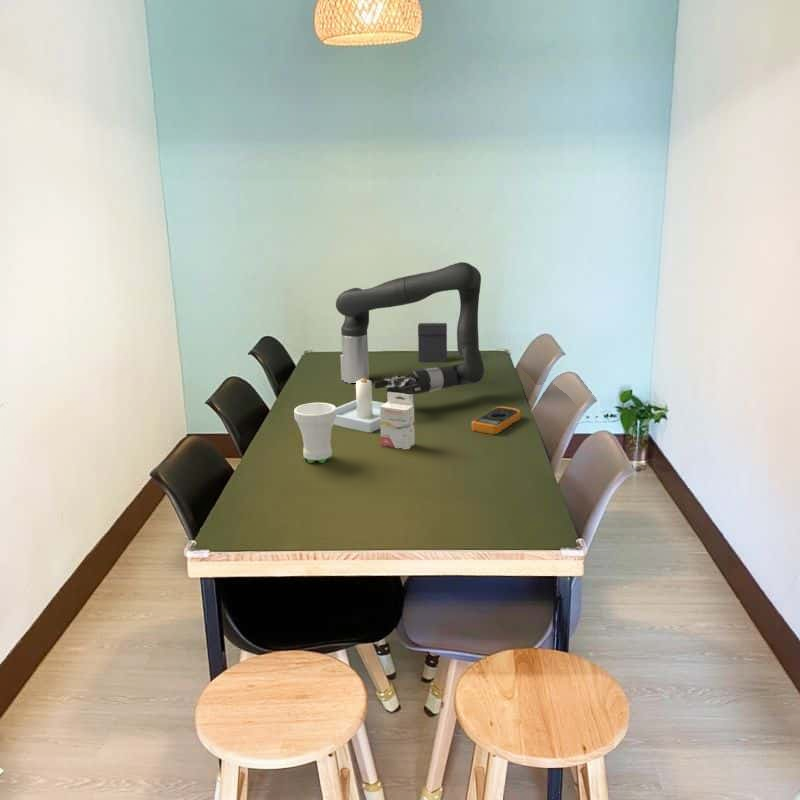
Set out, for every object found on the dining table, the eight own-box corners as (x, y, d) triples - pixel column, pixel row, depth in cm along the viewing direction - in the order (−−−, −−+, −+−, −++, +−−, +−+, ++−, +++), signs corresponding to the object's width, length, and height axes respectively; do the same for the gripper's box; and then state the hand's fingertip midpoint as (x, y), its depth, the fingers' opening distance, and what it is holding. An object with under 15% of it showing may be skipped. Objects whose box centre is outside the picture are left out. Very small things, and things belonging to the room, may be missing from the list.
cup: (305, 469, 205) (302, 417, 201) (291, 456, 214) (287, 406, 210) (345, 461, 210) (343, 410, 206) (329, 448, 219) (326, 400, 215)
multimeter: (523, 419, 241) (523, 408, 240) (496, 437, 226) (496, 425, 225) (497, 415, 245) (497, 404, 244) (469, 432, 231) (469, 420, 230)
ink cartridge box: (380, 446, 220) (378, 395, 216) (387, 440, 225) (386, 391, 220) (408, 450, 217) (407, 399, 212) (415, 444, 221) (414, 394, 217)
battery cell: (353, 416, 242) (352, 380, 239) (363, 412, 246) (362, 376, 243) (366, 419, 240) (364, 382, 236) (375, 415, 243) (374, 378, 240)
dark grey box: (447, 359, 312) (446, 322, 307) (446, 362, 308) (446, 324, 303) (419, 359, 313) (418, 322, 308) (418, 362, 309) (417, 324, 304)
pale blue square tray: (323, 422, 241) (323, 413, 240) (360, 407, 255) (359, 398, 254) (369, 432, 231) (369, 423, 230) (405, 416, 245) (405, 407, 244)
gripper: (414, 364, 255) (369, 371, 248) (437, 374, 243) (391, 382, 236) (414, 386, 258) (370, 394, 250) (437, 397, 246) (391, 405, 238)
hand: (380, 388), depth 243 cm, fingers open, 8 cm apart
